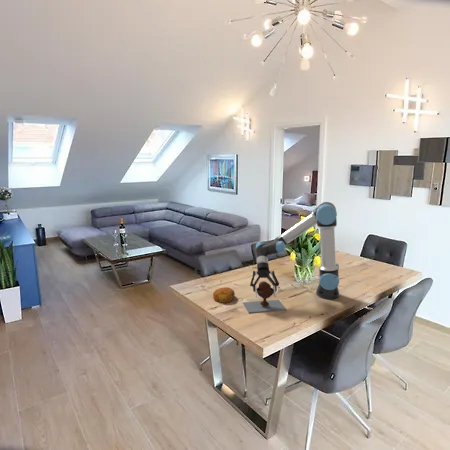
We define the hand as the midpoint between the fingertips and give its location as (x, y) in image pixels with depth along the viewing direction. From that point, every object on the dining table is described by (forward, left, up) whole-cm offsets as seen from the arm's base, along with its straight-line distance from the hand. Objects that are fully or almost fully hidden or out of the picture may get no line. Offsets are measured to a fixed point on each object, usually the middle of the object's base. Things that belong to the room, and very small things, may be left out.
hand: (265, 296), depth 207 cm
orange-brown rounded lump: (+29, -9, -9) cm, 31 cm away
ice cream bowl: (+1, -3, -6) cm, 7 cm away
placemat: (+1, -3, -8) cm, 9 cm away
